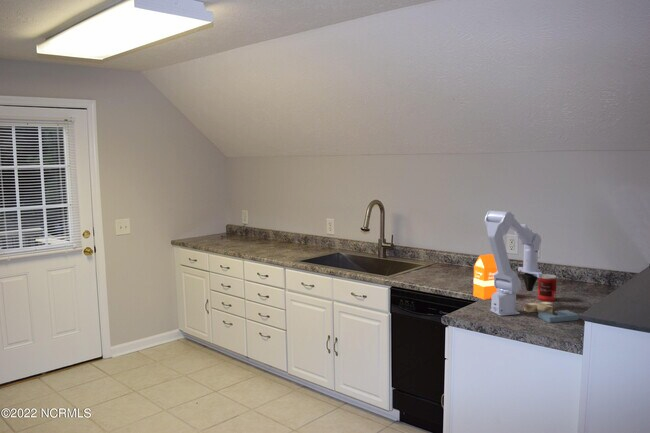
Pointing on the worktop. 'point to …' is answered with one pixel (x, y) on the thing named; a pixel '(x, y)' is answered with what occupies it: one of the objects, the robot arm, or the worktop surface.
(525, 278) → the robot arm
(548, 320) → the dock
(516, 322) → the worktop surface
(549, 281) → the canned food
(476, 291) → the orange juice
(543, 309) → the t block
